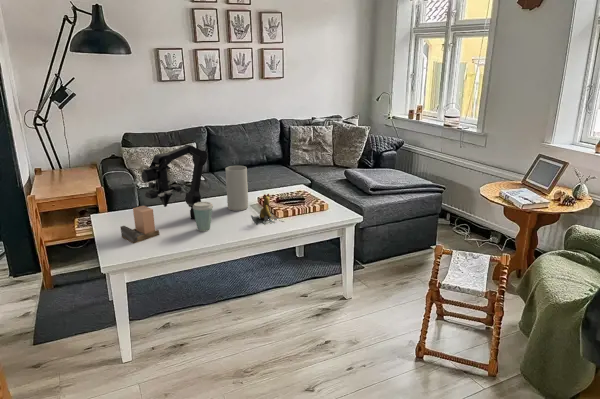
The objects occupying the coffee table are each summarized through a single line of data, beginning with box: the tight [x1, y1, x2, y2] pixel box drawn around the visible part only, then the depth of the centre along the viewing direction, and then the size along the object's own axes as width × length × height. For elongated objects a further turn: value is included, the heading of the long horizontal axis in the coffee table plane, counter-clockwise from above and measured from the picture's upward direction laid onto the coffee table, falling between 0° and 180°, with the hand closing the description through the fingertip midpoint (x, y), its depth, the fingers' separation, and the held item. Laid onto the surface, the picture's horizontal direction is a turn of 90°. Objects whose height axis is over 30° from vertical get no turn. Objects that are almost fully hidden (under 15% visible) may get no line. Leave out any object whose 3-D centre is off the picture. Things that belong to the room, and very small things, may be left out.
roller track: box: [120, 225, 160, 244], centre depth 233 cm, size 14×12×6 cm
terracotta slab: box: [132, 205, 156, 234], centre depth 233 cm, size 6×9×12 cm, turn 49°
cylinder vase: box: [225, 165, 249, 212], centre depth 271 cm, size 12×12×25 cm
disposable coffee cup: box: [193, 201, 214, 232], centre depth 240 cm, size 11×11×15 cm
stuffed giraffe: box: [250, 193, 285, 226], centre depth 256 cm, size 16×18×16 cm
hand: (165, 206), depth 241 cm, fingers closed
